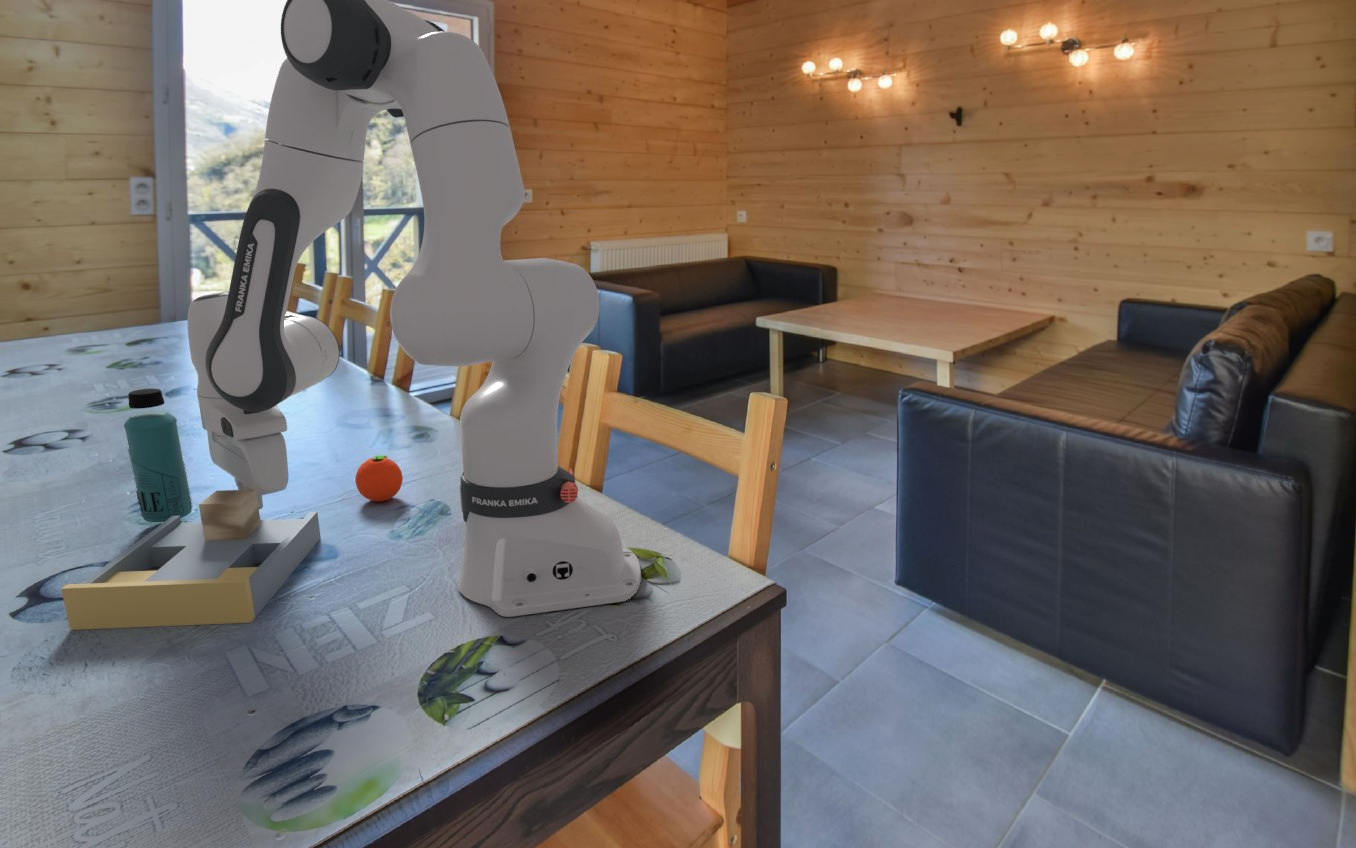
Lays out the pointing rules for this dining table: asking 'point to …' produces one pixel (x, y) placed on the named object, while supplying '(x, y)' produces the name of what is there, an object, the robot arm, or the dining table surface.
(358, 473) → the clementine
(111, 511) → the dining table surface
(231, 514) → the cube
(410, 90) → the robot arm
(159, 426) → the beverage bottle
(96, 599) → the tray
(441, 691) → the dining table surface
